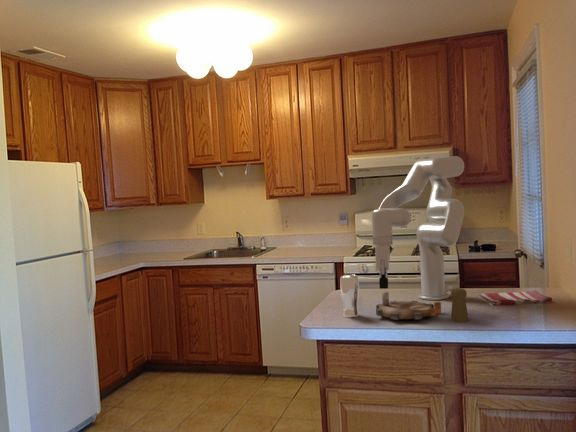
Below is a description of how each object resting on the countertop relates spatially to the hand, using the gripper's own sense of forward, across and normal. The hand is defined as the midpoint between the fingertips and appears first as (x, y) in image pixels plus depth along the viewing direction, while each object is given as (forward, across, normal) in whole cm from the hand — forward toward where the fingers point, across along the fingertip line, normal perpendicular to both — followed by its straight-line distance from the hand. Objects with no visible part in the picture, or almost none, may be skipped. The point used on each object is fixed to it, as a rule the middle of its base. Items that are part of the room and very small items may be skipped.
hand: (383, 288), depth 193 cm
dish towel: (+8, -18, +50) cm, 54 cm away
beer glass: (+9, +8, -12) cm, 17 cm away
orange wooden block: (+9, +7, +11) cm, 15 cm away
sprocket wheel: (+7, +9, +8) cm, 14 cm away
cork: (+9, +14, +26) cm, 31 cm away
